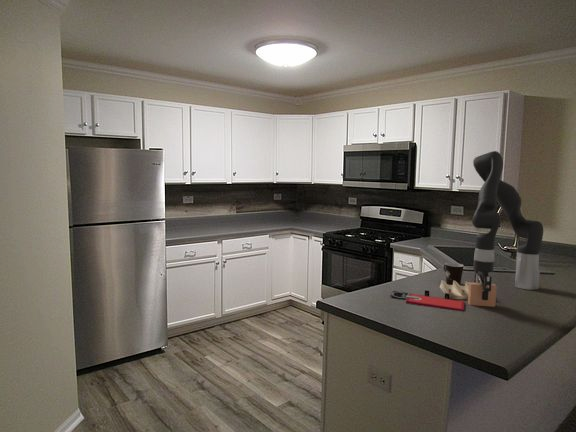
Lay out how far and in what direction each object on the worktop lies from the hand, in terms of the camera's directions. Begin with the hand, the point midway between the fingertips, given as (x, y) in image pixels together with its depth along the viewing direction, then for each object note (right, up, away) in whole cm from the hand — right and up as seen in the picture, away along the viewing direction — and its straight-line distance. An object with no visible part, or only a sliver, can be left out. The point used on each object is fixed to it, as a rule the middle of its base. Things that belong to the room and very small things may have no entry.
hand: (481, 297), depth 166 cm
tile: (0, -3, 0) cm, 3 cm away
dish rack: (0, -2, +16) cm, 16 cm away
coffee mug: (+2, 0, +33) cm, 33 cm away
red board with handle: (-22, -3, +5) cm, 22 cm away
